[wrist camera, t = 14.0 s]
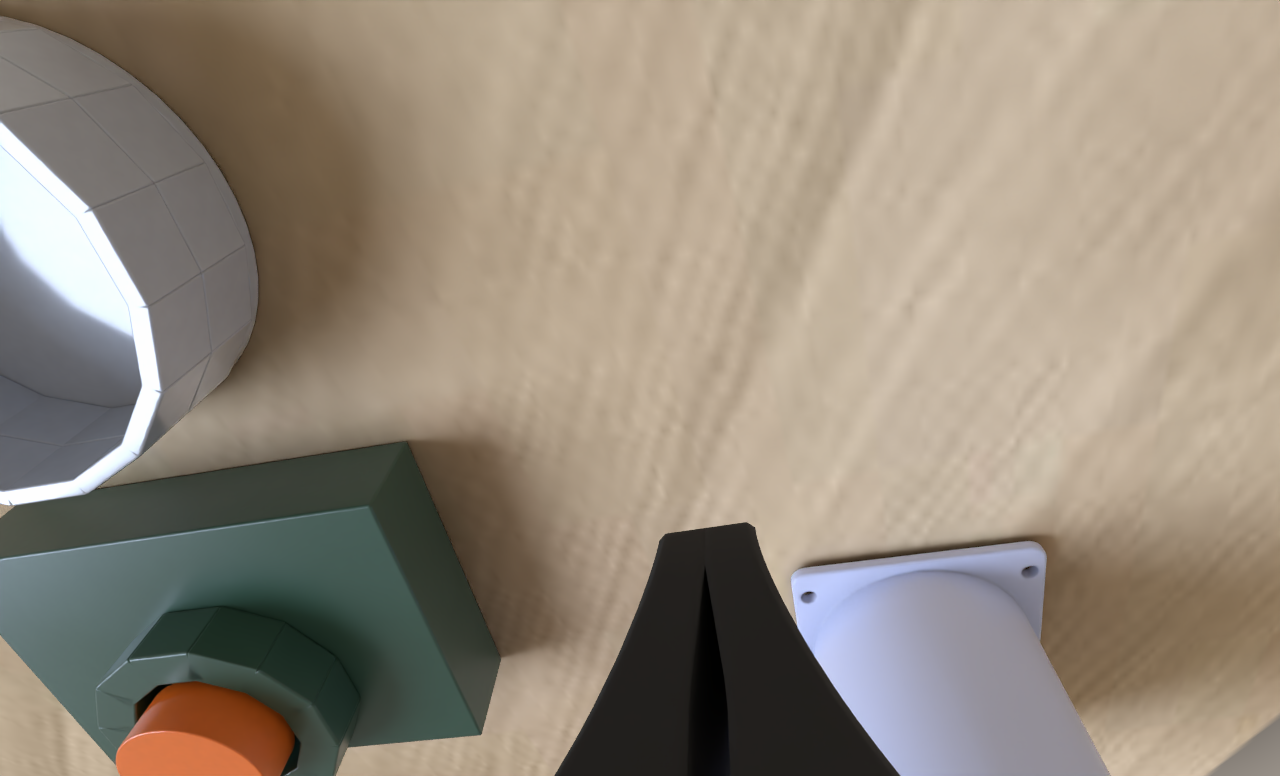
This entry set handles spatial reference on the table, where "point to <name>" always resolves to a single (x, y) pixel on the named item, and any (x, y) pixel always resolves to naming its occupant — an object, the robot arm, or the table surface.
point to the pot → (105, 268)
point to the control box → (255, 602)
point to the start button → (206, 735)
